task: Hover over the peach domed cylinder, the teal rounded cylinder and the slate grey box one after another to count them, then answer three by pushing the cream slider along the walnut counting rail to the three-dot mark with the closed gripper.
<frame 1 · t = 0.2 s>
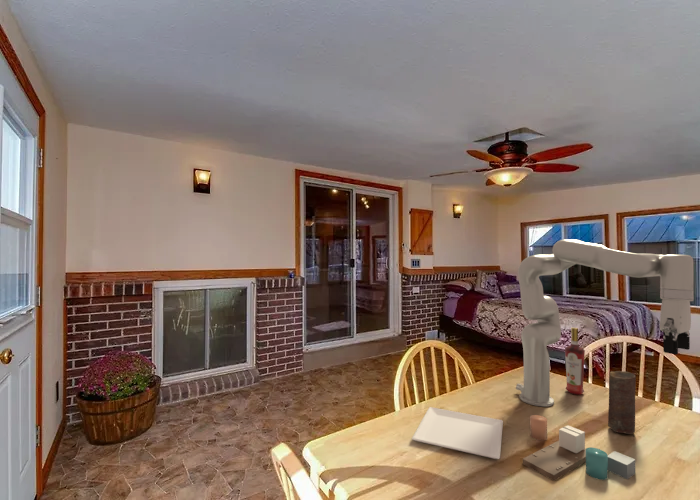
hand: (676, 350, 110), 31 cm above the table, tool pointing down, fingers open, 9 cm apart
liquor: (574, 393, 156), on the table
teal rounded cylinder: (596, 474, 99), on the table
slider: (571, 438, 110), point 4 cm above the table, slide at 0.0 cm
slate box: (620, 472, 100), on the table
counting rail: (558, 460, 106), on the table
plate: (459, 435, 121), on the table
candle: (621, 432, 122), on the table
peach domed cylinder: (538, 436, 119), on the table
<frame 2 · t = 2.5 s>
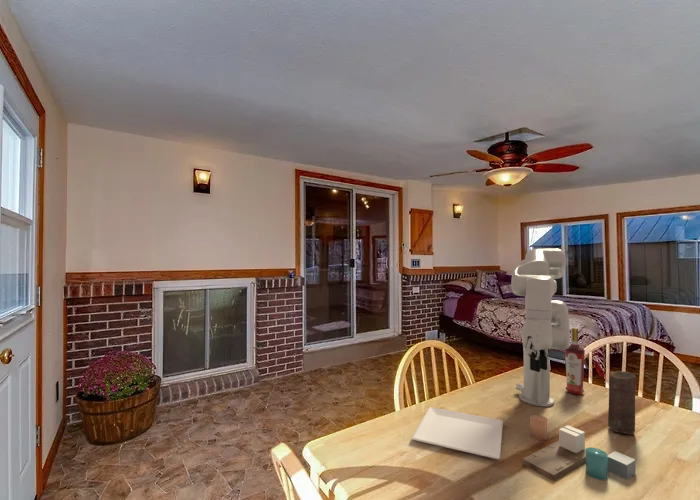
hand: (538, 369, 119), 22 cm above the table, tool pointing down, fingers open, 3 cm apart
nothing on the table moved.
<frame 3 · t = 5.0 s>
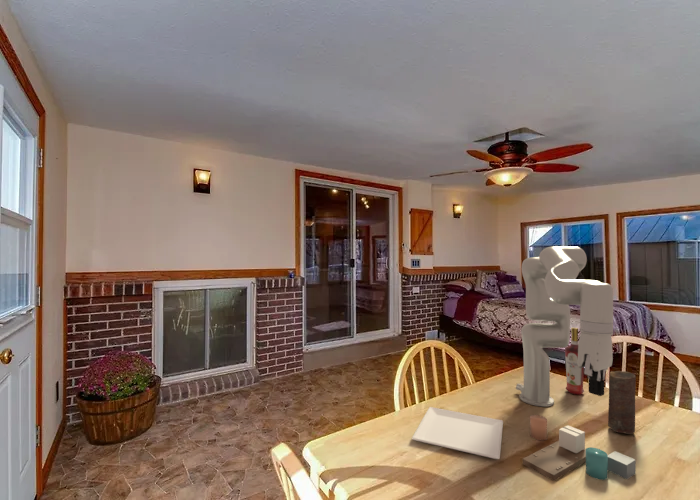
hand: (596, 393, 99), 22 cm above the table, tool pointing down, fingers closed
nothing on the table moved.
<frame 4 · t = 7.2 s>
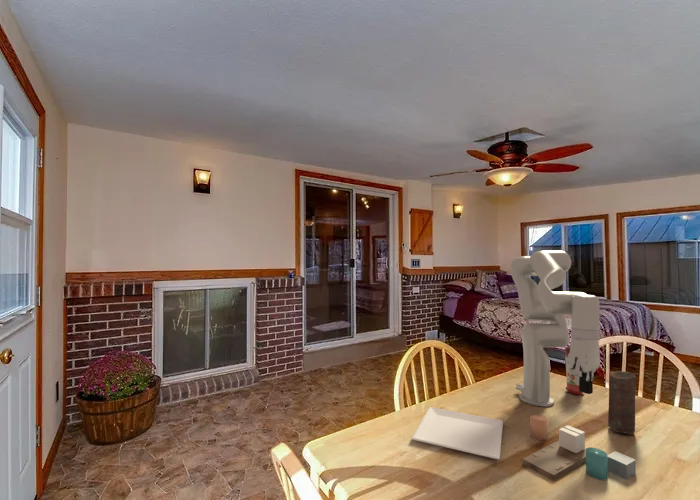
hand: (585, 392, 113), 17 cm above the table, tool pointing down, fingers closed
nothing on the table moved.
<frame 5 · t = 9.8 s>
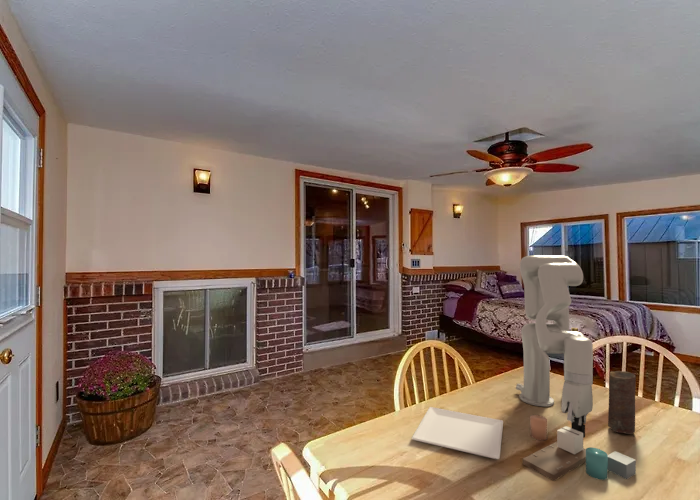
hand: (578, 436, 111), 4 cm above the table, tool pointing down, fingers closed
slider: (570, 439, 109), point 4 cm above the table, slide at 1.0 cm, touching gripper
everything else where it was.
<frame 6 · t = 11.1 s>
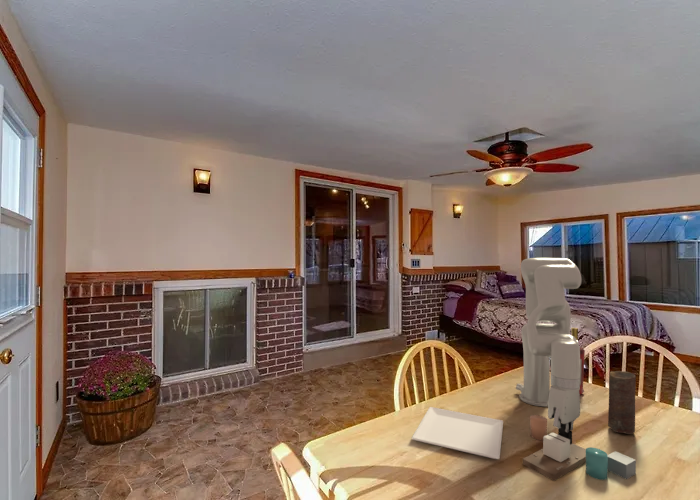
hand: (565, 442, 107), 4 cm above the table, tool pointing down, fingers closed
slider: (556, 446, 105), point 4 cm above the table, slide at 8.5 cm, touching gripper
everything else where it was.
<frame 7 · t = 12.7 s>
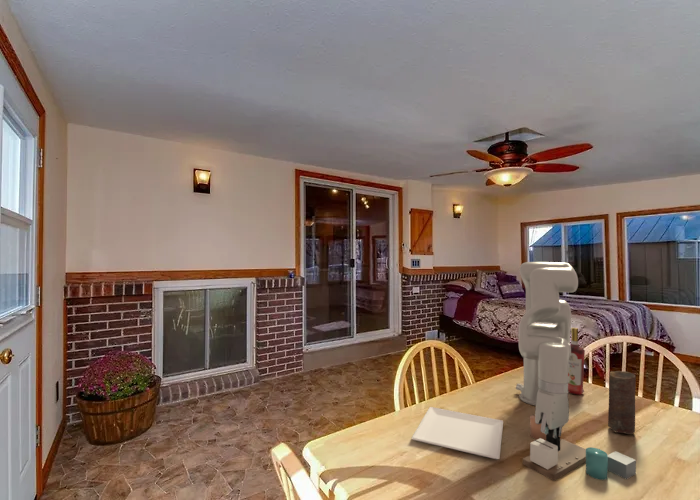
hand: (553, 449, 104), 4 cm above the table, tool pointing down, fingers closed
slider: (543, 453, 102), point 4 cm above the table, slide at 14.9 cm, touching gripper
everything else where it was.
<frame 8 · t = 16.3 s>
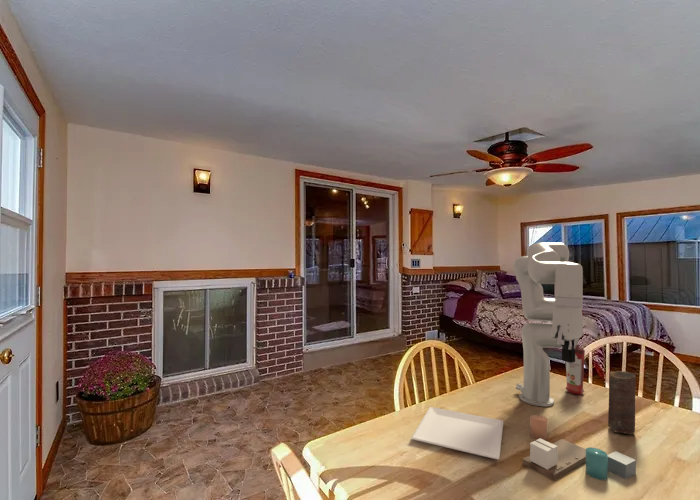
hand: (568, 361, 112), 27 cm above the table, tool pointing down, fingers closed
slider: (543, 453, 102), point 4 cm above the table, slide at 15.0 cm
everything else where it was.
at the end: slider slide at 15.0 cm; teal rounded cylinder moved 0.1 cm from its start; slate box moved 0.2 cm from its start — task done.
